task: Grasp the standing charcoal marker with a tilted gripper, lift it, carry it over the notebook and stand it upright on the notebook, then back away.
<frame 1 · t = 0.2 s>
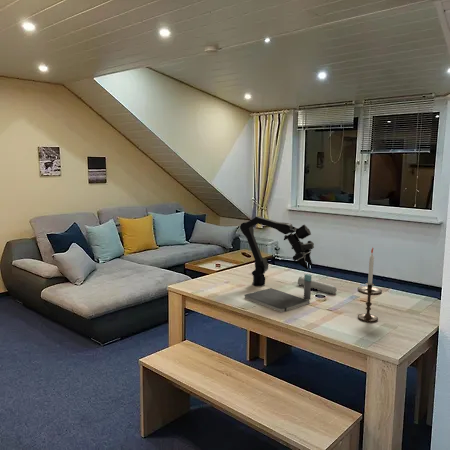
hand: (309, 267, 238), 15 cm above the table, tool tilted 35°, fingers open, 9 cm apart
tube: (317, 289, 245), on the table
candlestick: (367, 319, 199), on the table
marker: (307, 298, 229), on the table
notebook: (275, 302, 224), on the table
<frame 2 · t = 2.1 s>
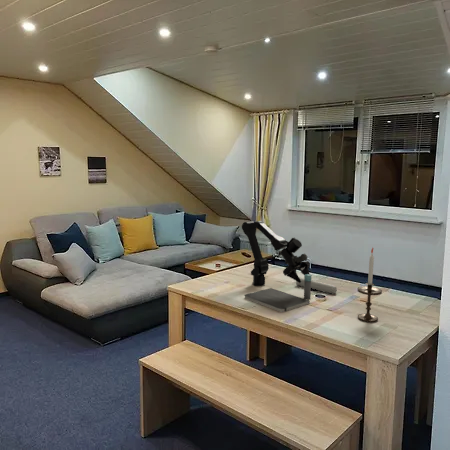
hand: (305, 280, 228), 9 cm above the table, tool tilted 45°, fingers open, 9 cm apart
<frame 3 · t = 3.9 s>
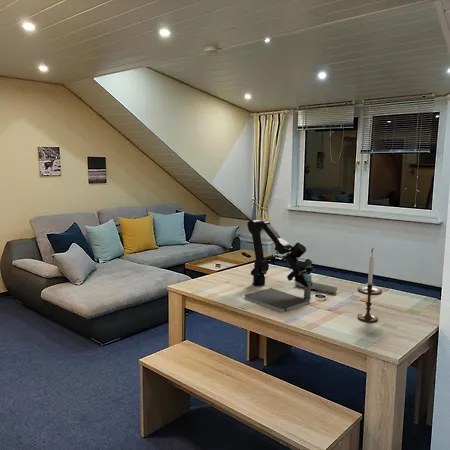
hand: (309, 286, 227), 7 cm above the table, tool tilted 45°, fingers closed on marker, 4 cm apart
marker: (307, 298, 229), on the table, touching gripper
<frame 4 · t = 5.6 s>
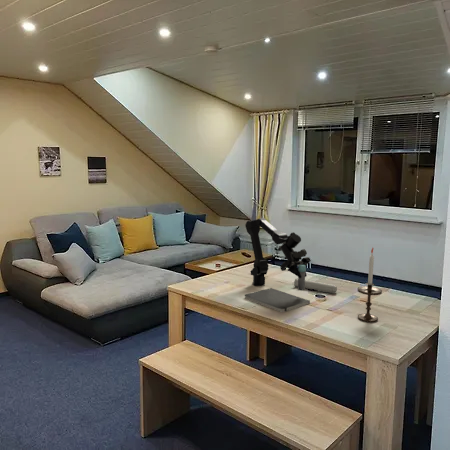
hand: (303, 277, 223), 13 cm above the table, tool tilted 45°, fingers closed on marker, 4 cm apart
marker: (301, 289, 225), point 6 cm above the table, touching gripper
when the fingers open (11 cm above the table, at t = 7.6 s): marker drops 2 cm, point 2 cm above the table.
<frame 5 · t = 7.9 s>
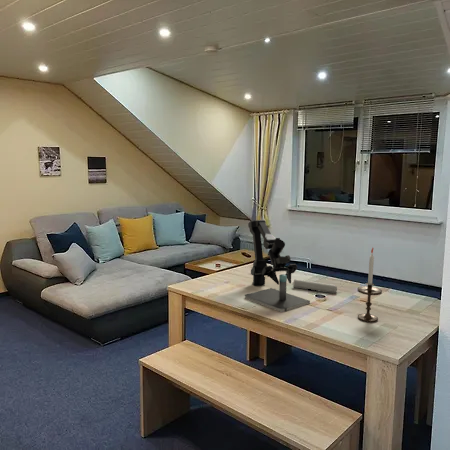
hand: (284, 283, 218), 11 cm above the table, tool tilted 45°, fingers open, 7 cm apart
marker: (282, 299, 221), point 2 cm above the table
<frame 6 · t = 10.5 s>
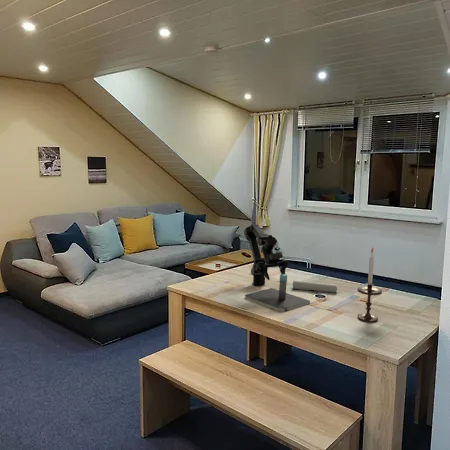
hand: (276, 279, 227), 11 cm above the table, tool tilted 45°, fingers open, 9 cm apart
marker: (281, 298, 221), point 2 cm above the table, touching notebook
notebook: (276, 302, 224), on the table, touching marker
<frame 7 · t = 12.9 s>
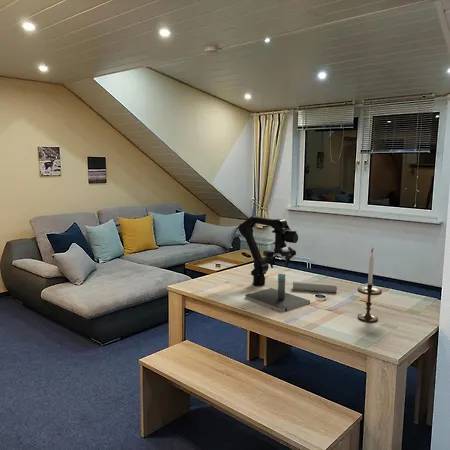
hand: (279, 267, 242), 13 cm above the table, tool pointing down, fingers open, 9 cm apart
at the end: marker inside the target area (0.9 cm from its centre), point 1.8 cm above the table; marker tilted 1°; marker touching notebook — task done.
